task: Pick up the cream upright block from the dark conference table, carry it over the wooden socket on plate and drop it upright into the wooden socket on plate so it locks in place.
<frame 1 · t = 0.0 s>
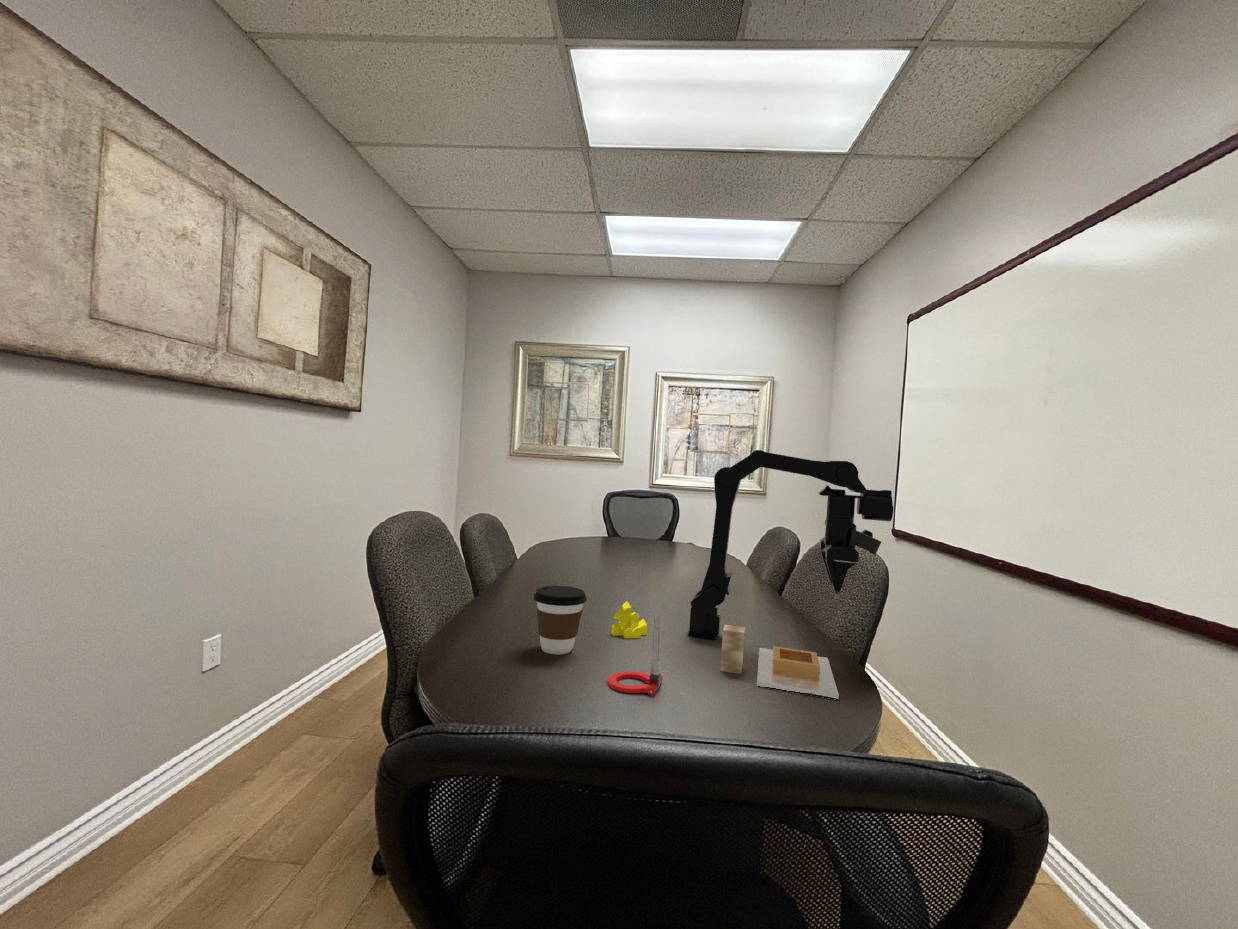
hand: (835, 587, 124), 15 cm above the table, fingers open, 9 cm apart
tow hook: (633, 686, 99), on the table
yellow blocky cluster: (628, 635, 128), on the table
wooden socket on plate: (794, 673, 110), on the table
cream upright block: (731, 669, 110), on the table
coffee cup: (556, 650, 114), on the table
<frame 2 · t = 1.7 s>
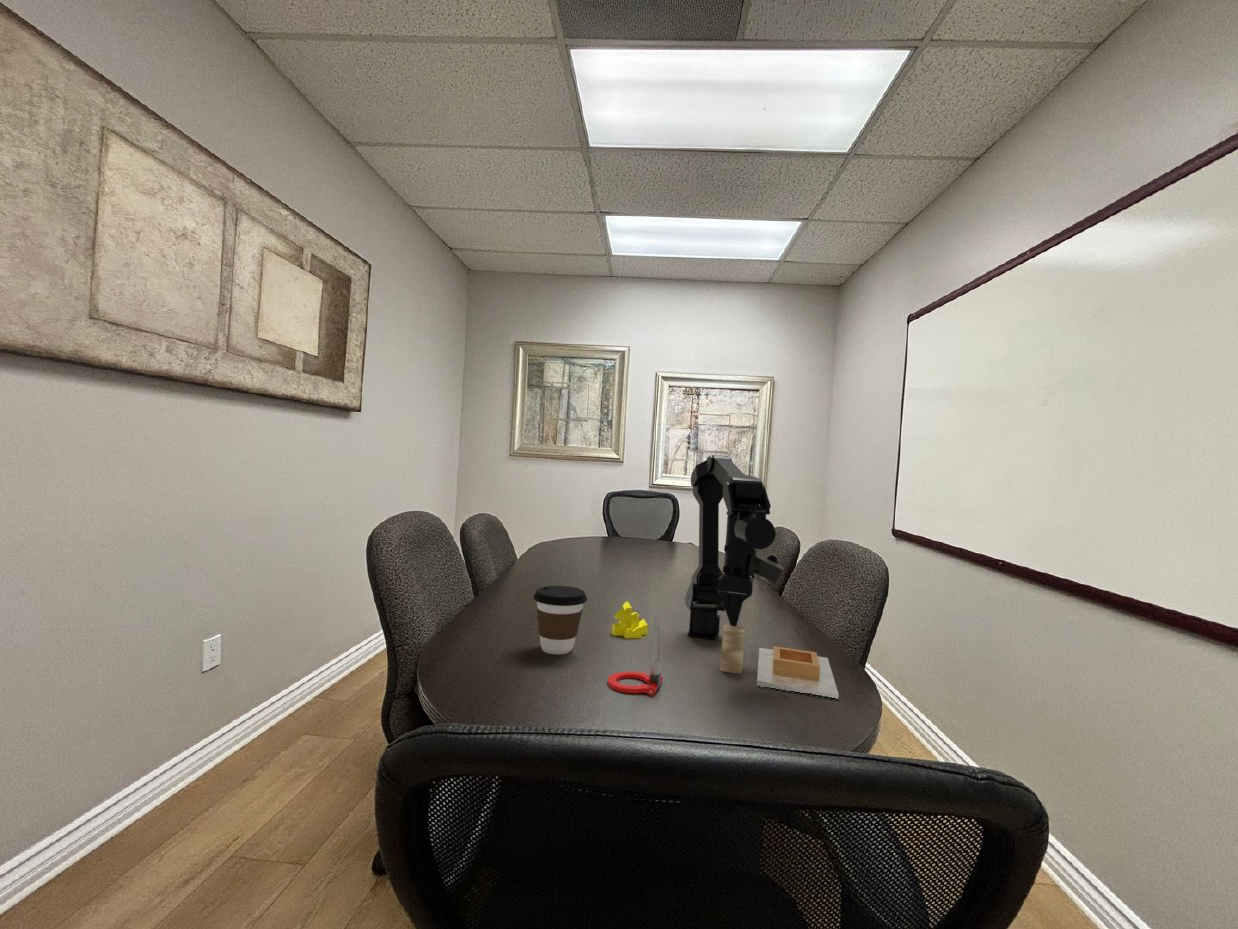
hand: (734, 619, 110), 10 cm above the table, fingers open, 9 cm apart
nothing on the table moved.
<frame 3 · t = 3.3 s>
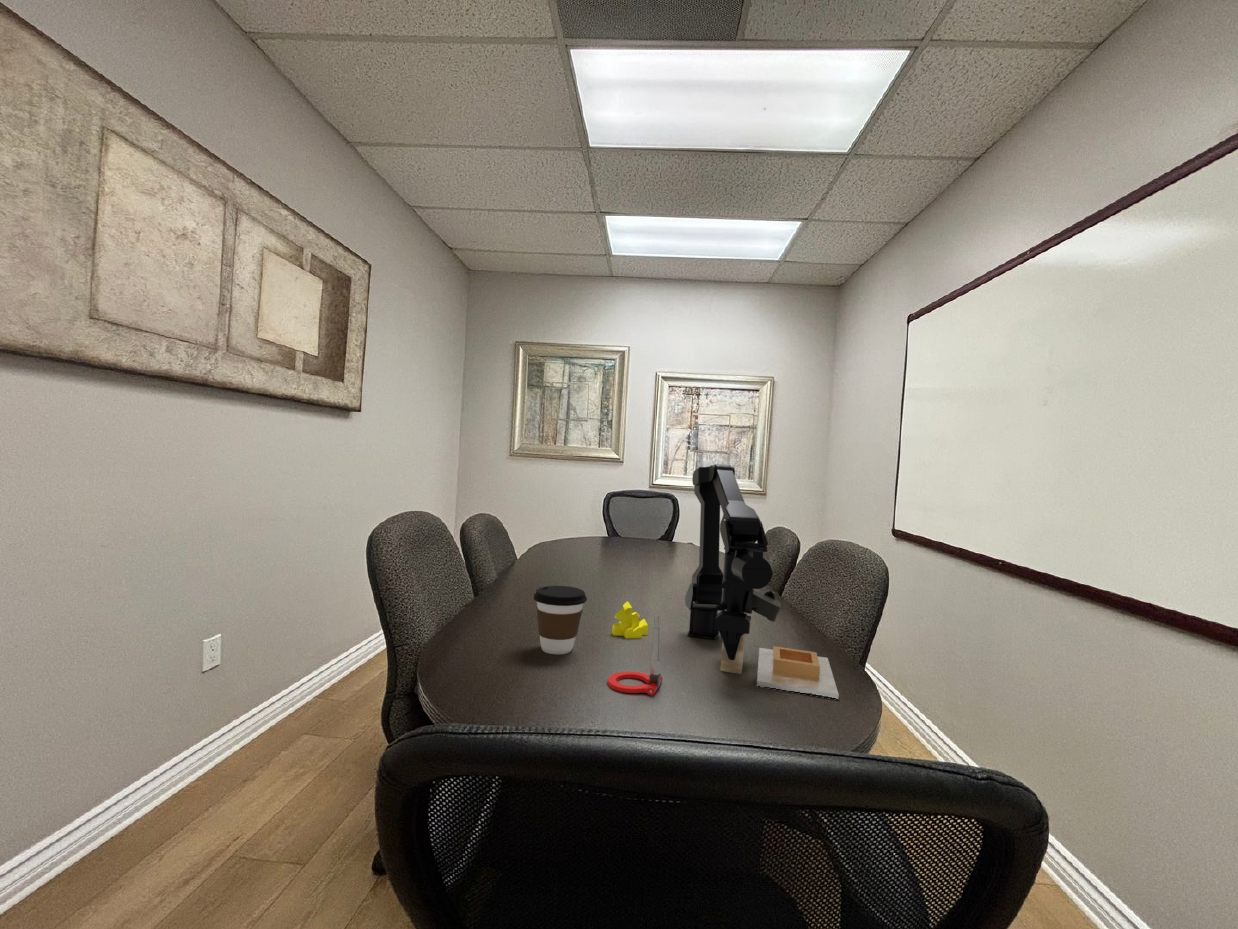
hand: (732, 656, 110), 3 cm above the table, fingers closed on cream upright block, 4 cm apart
cream upright block: (731, 669, 110), on the table, touching gripper
everything else where it was.
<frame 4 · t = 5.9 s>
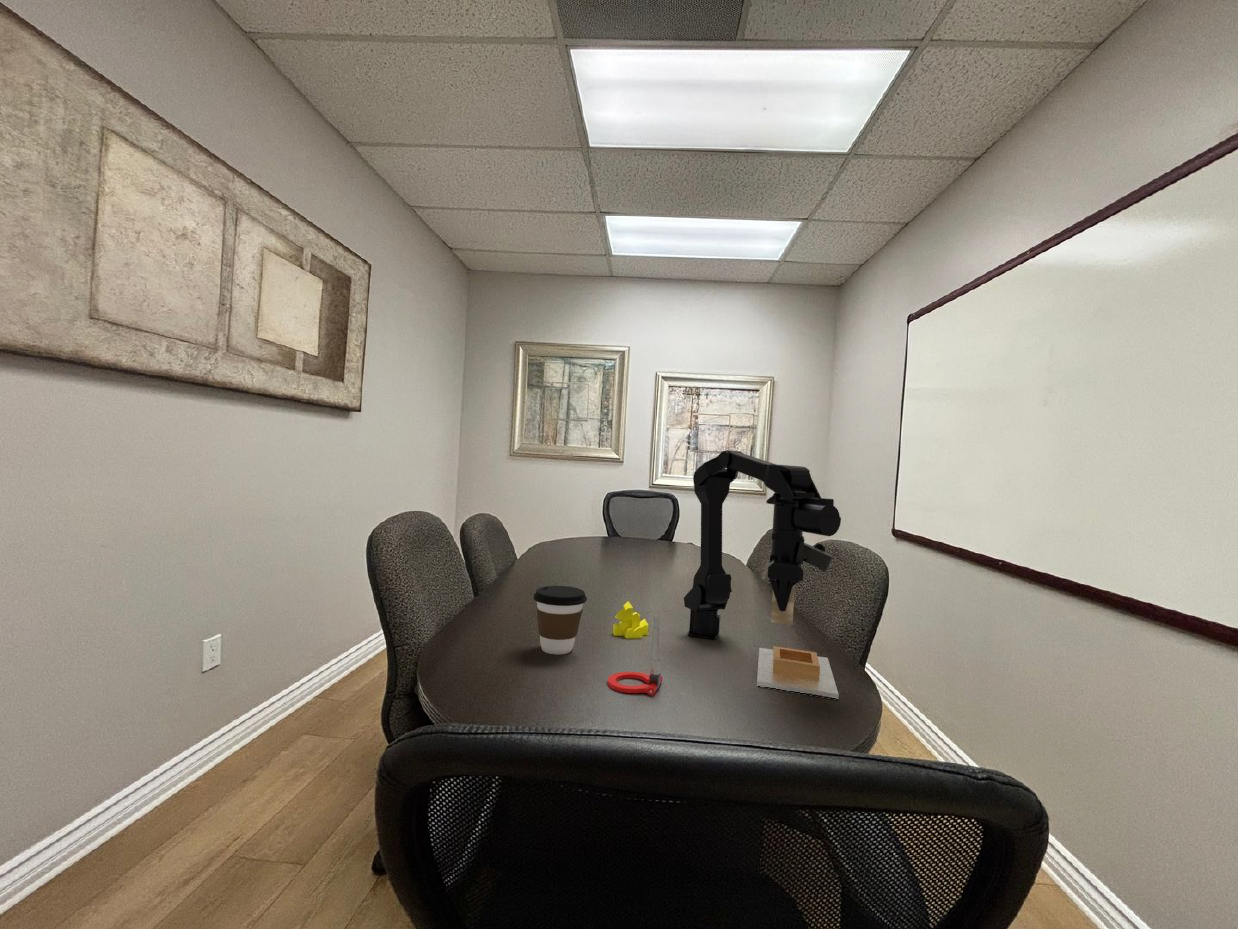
hand: (782, 608, 109), 13 cm above the table, fingers closed on cream upright block, 4 cm apart
cream upright block: (781, 621, 109), point 10 cm above the table, touching gripper
everything else where it was.
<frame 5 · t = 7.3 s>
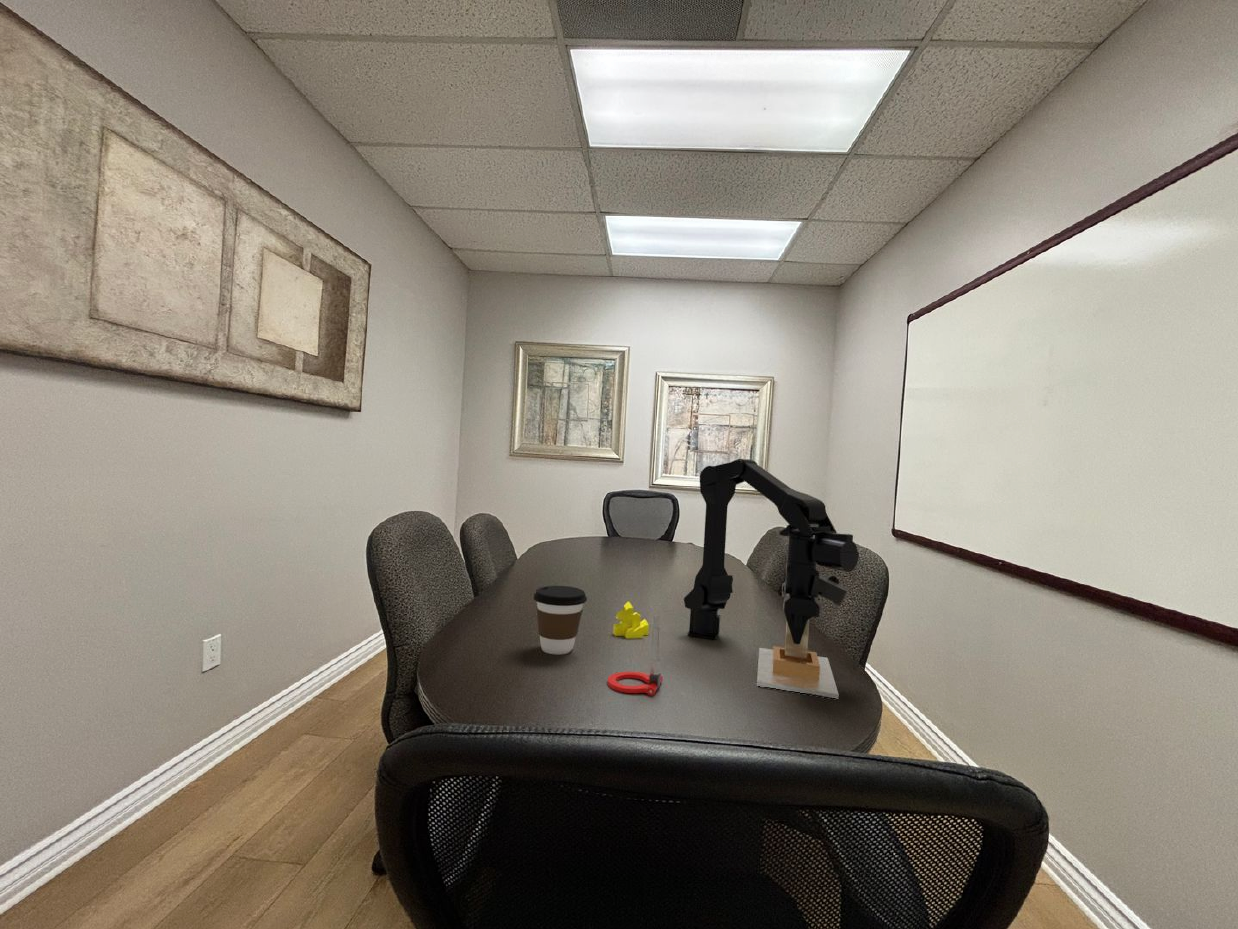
hand: (796, 640, 110), 6 cm above the table, fingers closed on cream upright block, 4 cm apart
cream upright block: (795, 653, 110), point 4 cm above the table, touching gripper
everything else where it was.
when the fingers open (4 cm above the table, at t = 8.4 s): cream upright block stays where it is, resting on wooden socket on plate.
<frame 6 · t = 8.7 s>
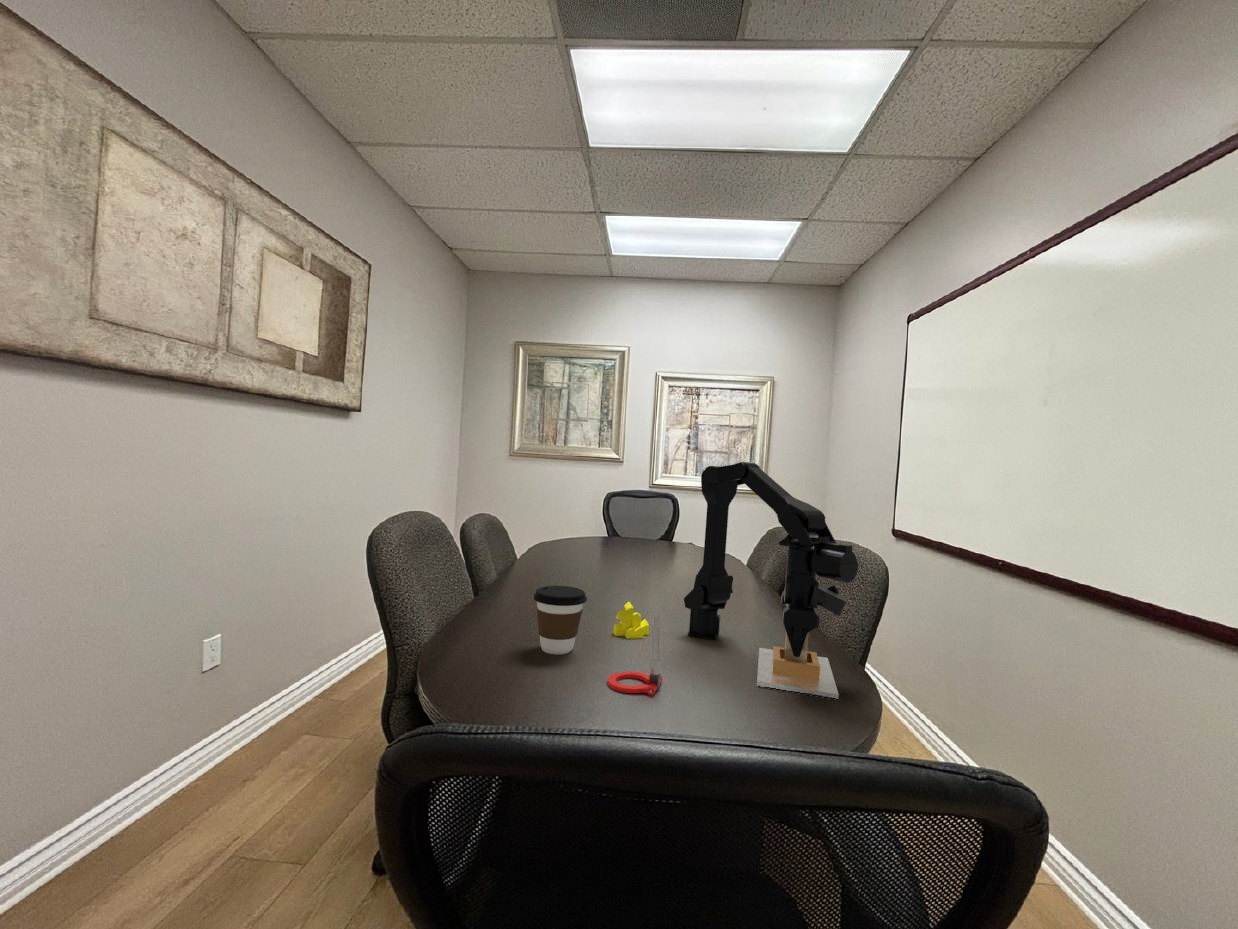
hand: (795, 650, 110), 4 cm above the table, fingers open, 7 cm apart
cream upright block: (794, 668, 110), point 1 cm above the table, touching wooden socket on plate
everything else where it was.
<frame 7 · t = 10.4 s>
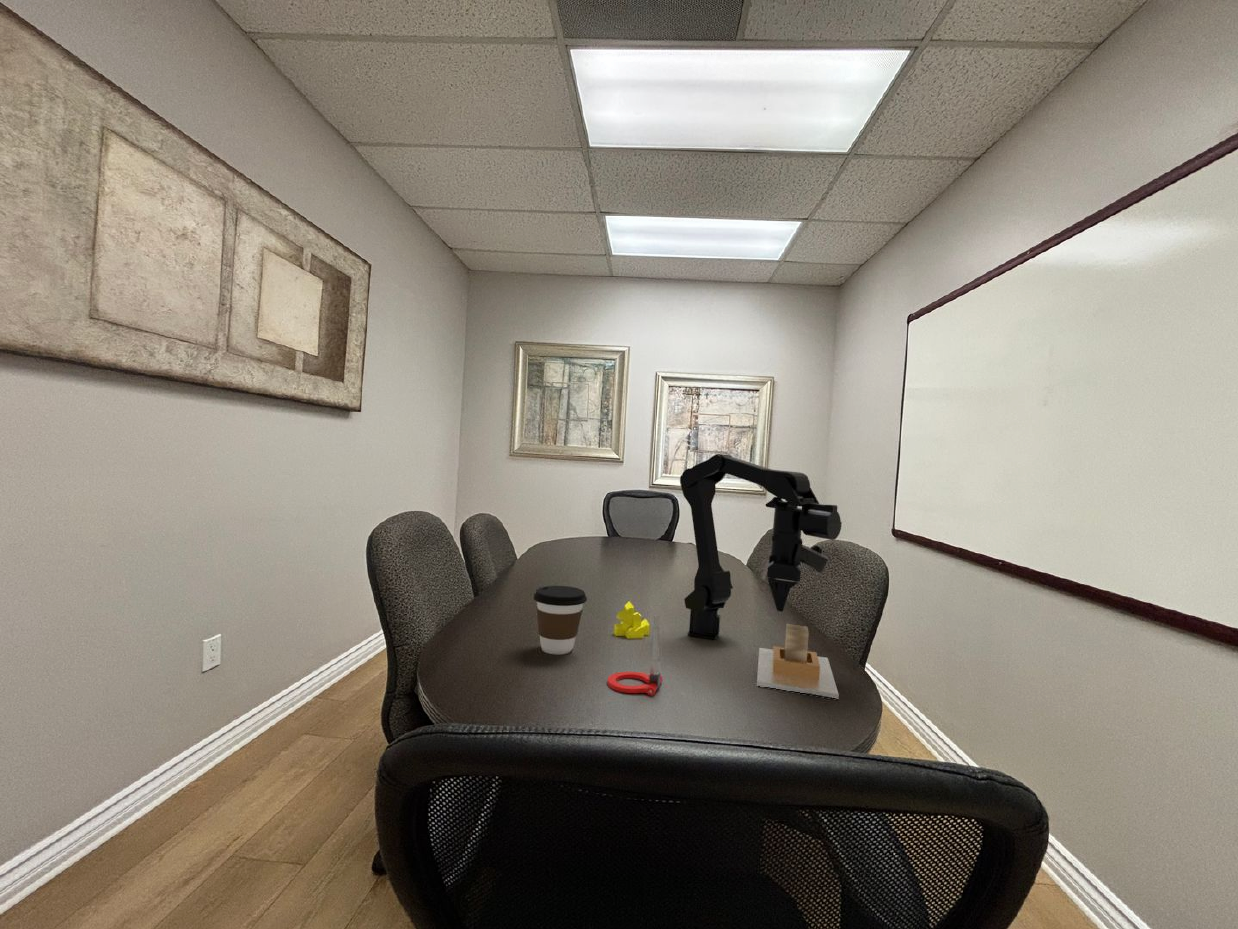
hand: (780, 605, 116), 12 cm above the table, fingers open, 9 cm apart
nothing on the table moved.
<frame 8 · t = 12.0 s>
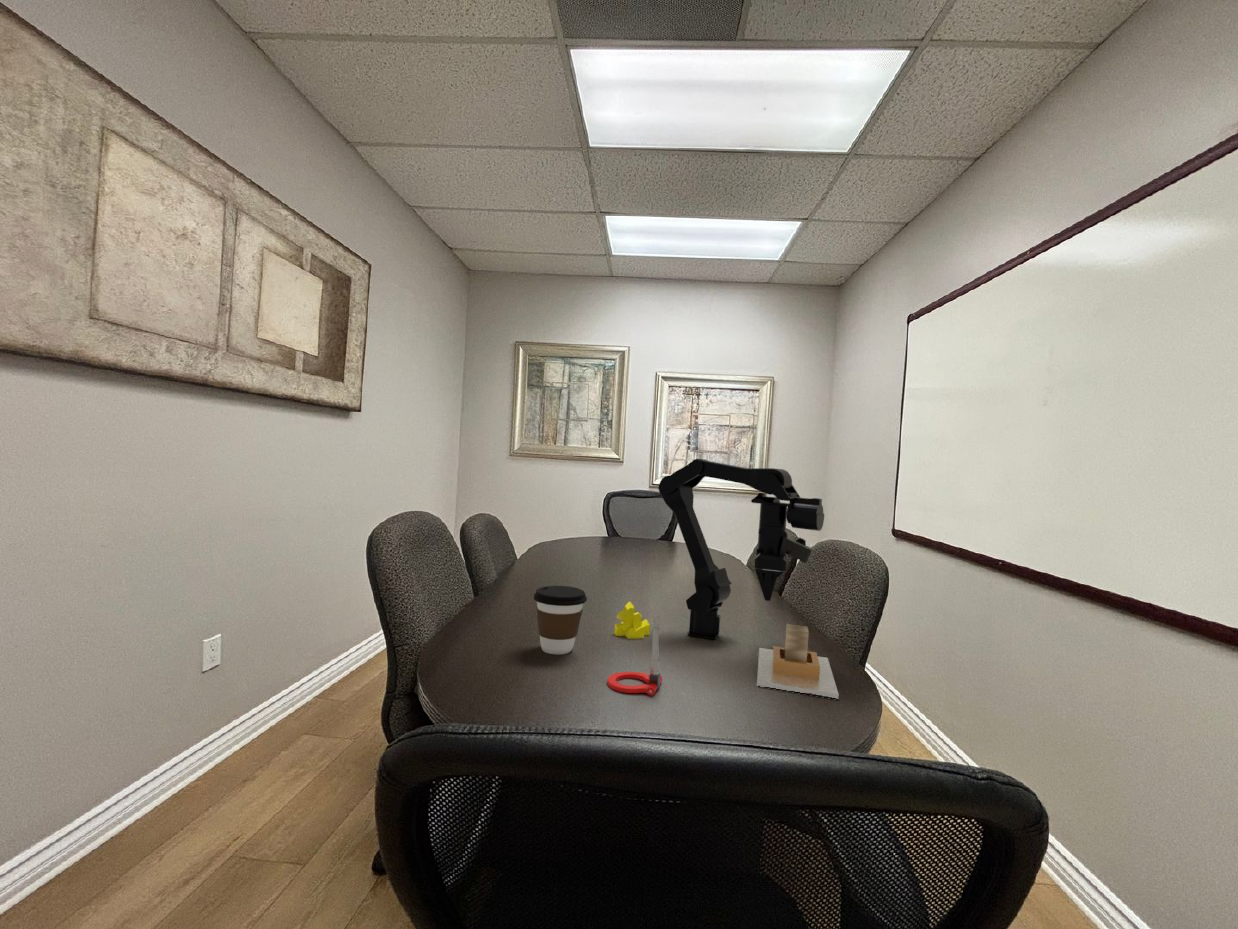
hand: (767, 595, 123), 12 cm above the table, fingers open, 9 cm apart
nothing on the table moved.
at the end: cream upright block 0.0 cm off-centre on the wooden socket on plate, point 1.0 cm above the wooden socket on plate's base; cream upright block tilted 0°; the gripper is holding nothing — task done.
